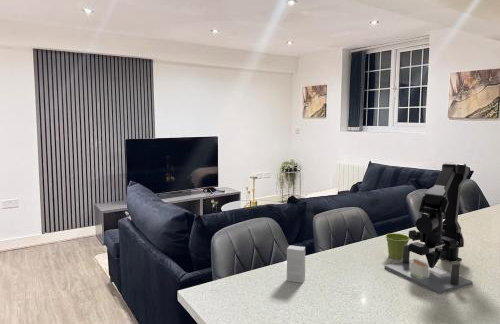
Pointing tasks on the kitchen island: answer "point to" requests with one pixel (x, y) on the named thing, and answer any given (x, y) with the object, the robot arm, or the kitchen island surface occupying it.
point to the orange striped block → (419, 268)
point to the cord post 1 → (406, 254)
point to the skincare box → (296, 264)
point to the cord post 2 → (455, 273)
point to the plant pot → (396, 244)
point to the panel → (429, 277)
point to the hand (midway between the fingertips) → (431, 267)
